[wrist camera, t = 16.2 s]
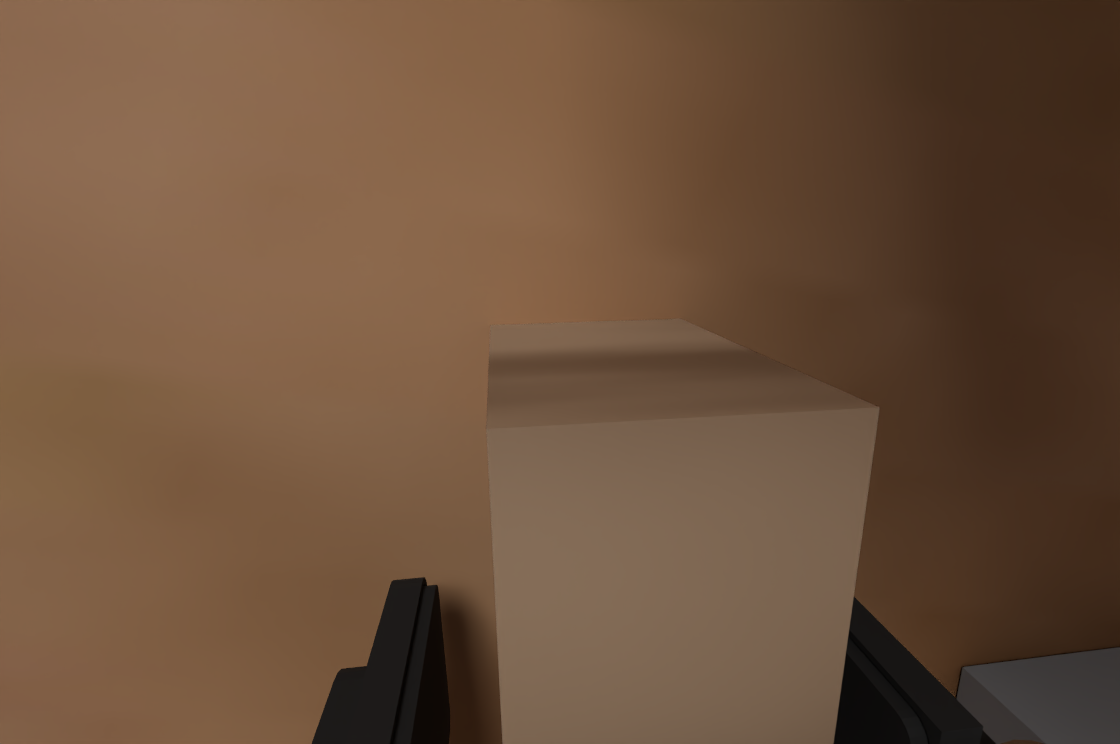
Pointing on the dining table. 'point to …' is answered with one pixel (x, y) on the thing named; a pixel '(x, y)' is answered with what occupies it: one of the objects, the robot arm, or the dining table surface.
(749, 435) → the light brown rectangular block
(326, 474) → the dining table surface
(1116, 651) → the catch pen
